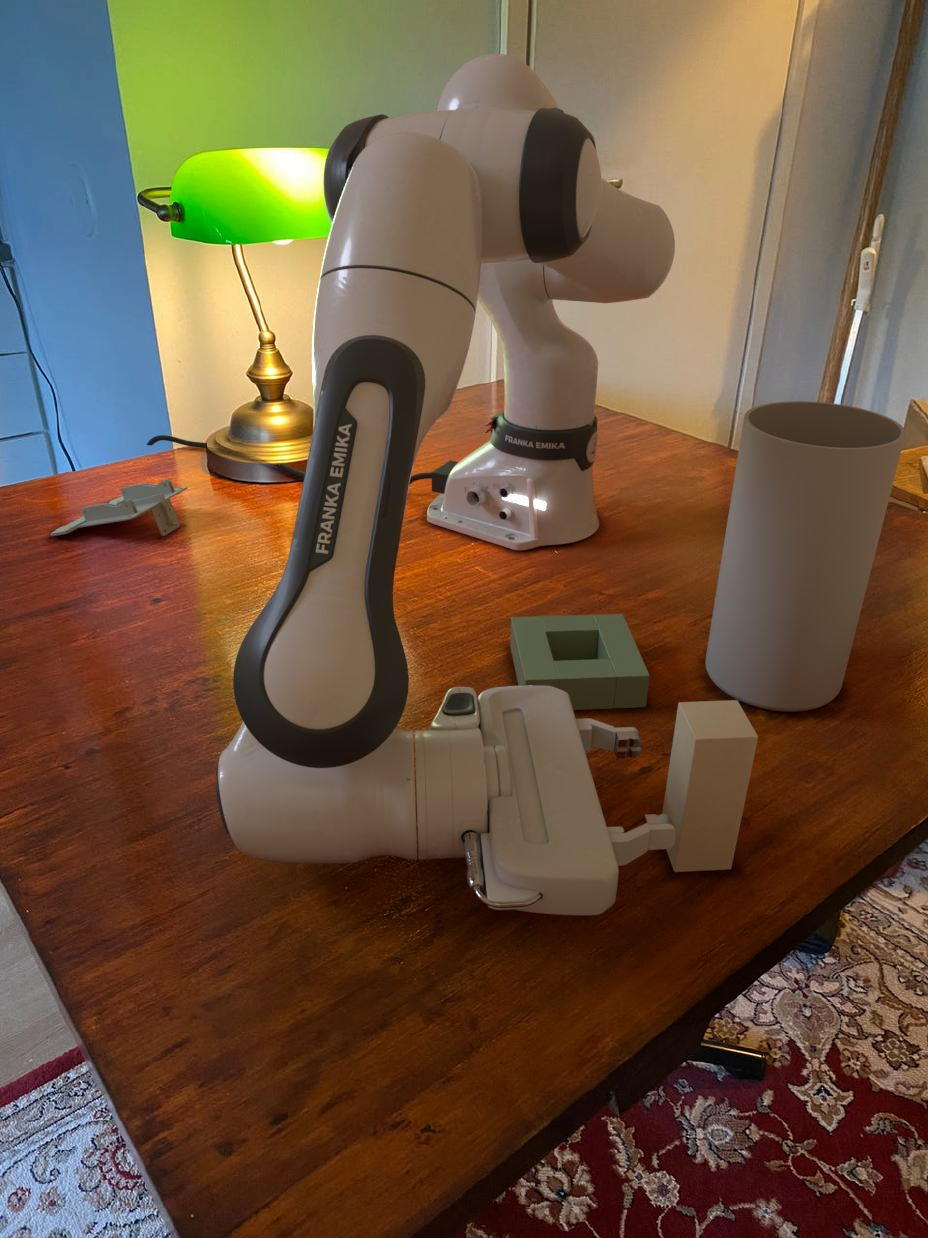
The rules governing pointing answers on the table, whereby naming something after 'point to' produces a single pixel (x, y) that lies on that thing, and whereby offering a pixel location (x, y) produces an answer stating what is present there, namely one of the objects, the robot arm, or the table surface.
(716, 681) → the cylinder vase
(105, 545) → the table surface
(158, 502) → the metal bracket
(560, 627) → the block
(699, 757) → the beige rectangular block
